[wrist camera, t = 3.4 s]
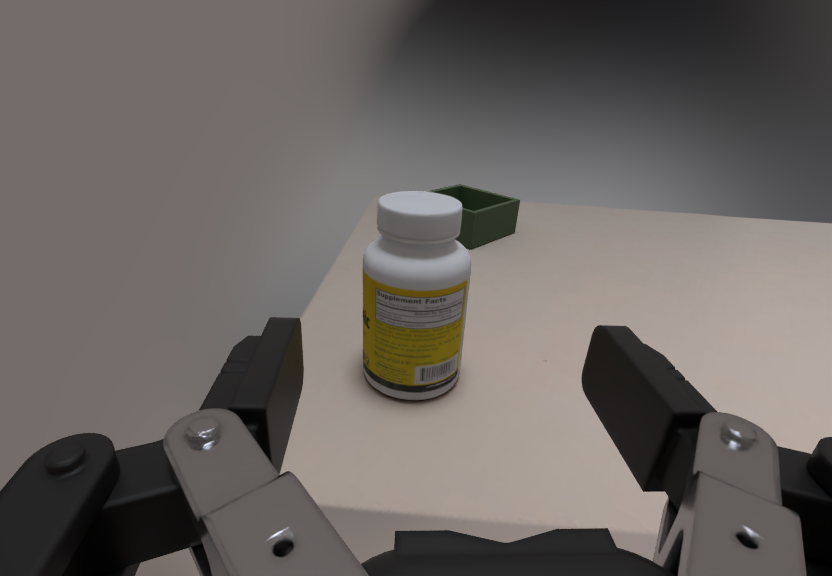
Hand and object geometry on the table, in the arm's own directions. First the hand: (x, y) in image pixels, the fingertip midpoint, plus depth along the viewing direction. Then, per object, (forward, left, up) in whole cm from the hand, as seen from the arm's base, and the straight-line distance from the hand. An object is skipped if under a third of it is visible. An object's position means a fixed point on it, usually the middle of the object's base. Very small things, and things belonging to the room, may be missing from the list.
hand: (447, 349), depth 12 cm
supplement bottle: (+5, +9, -9) cm, 14 cm away
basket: (+22, +29, -8) cm, 37 cm away
